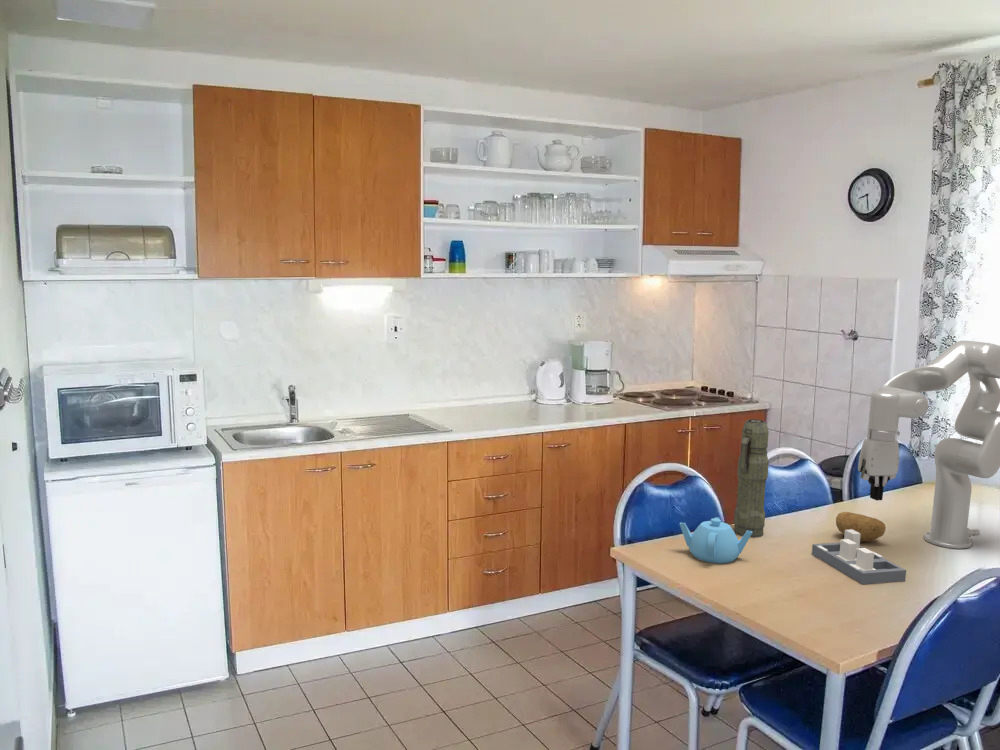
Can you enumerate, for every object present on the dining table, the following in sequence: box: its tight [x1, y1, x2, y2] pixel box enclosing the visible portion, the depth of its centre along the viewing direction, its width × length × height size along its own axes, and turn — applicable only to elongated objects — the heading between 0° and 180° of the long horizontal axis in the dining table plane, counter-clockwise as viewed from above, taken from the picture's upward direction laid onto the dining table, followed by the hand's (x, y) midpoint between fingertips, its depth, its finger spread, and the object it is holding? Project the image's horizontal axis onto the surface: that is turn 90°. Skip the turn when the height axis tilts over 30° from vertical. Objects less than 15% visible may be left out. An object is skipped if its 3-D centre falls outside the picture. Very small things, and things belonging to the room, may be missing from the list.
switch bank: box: [811, 541, 907, 585], centre depth 223 cm, size 13×22×3 cm, turn 13°
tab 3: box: [853, 547, 876, 571], centre depth 215 cm, size 4×4×6 cm
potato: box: [835, 511, 886, 543], centre depth 245 cm, size 10×14×8 cm
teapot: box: [679, 516, 752, 564], centre depth 229 cm, size 15×15×11 cm
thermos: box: [733, 418, 770, 538], centre depth 247 cm, size 9×12×35 cm
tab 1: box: [843, 529, 861, 550], centre depth 230 cm, size 4×4×6 cm
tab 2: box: [836, 538, 857, 561], centre depth 222 cm, size 4×4×6 cm
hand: (876, 498), depth 230 cm, fingers closed
